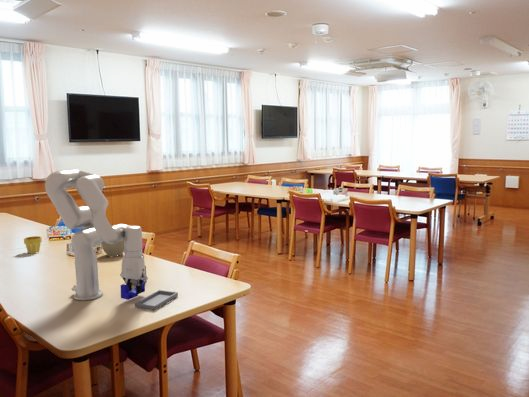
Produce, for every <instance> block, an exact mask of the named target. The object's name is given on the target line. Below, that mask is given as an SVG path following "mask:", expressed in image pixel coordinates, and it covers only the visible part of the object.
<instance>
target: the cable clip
mask: <svg viewBox="0 0 529 397" xmlns="http://www.w3.org/2000/svg"><path fill="white" fill-rule="evenodd" d="M142 280H143V278H142ZM139 281H140V280H139ZM136 286H137V284H136V285H135V286H134V288H132V290H131V291H130V290H129V288H128V285H126V284H125V283H122V284H121V285H120V299H122V300H126V301H129V300H131V299H134V298H136V297H138V296H139V294H142V293H145V292H146V282H144V283H143V284H142V292H141V293H139V294H136Z"/></svg>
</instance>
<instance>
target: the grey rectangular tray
mask: <svg viewBox="0 0 529 397" xmlns="http://www.w3.org/2000/svg"><path fill="white" fill-rule="evenodd" d="M178 297H179V292H178V291H170V290H169V291H168V290H162V289H159V290H158V289H157V290H156V291H154V292H153V293H150V294H149V295H146V296H145V297H144V298H142V299H140V300H138V301H136V302H134V308H135V309H142V310H148V311H149V310H150V311H154V312H155V311H157V310H158V309H160V308H162V307H163V306H165V305H166V304H169V303H170V302H172V301H173V300H174V299H176V298H178Z"/></svg>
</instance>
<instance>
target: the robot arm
mask: <svg viewBox="0 0 529 397" xmlns="http://www.w3.org/2000/svg"><path fill="white" fill-rule="evenodd" d="M44 187H45V188H44V189H45V194H47V196H48V198H49V200H50V201H51V203H52V204H53V206H54V207H55V210H56V212H58V213H57V214H58V216H60V218H61V220H62V222H63V223H64V225H65V227H66V228H67V229H69V230H76V229H79V228H81V229H80V230H78V231H76V232H74V234H72V237H71V240H70V243H71V247H72V252H73V256H74V265H75V279H76V284H75V285H73V286H72V288H71V291H73V292H75V293H74V294H73V299H75V300H76V301H91V300H96V299H98V298H100V297H102V296H103V294H104V293H103V292H104V291H103V290H101V289H100V285H99V283H100V282H99V271H98V270H99V269H98V268H99V266H98V257H97V253H96V251H95V249H94V248H95V247H98V246H101V244H102V243H103V242H105V243H107V244H114V243H117V242H119V241H122V240H125V250H123V254H124V255H122V262H121V270H120V271H121V272H120V274H119V276H120V277H121V278H122V279H123V281H124V284H125V285H128V288H129V290H130V291H131V290H133V285H132V282H131V279H134V280H136V281H137V286H136V285H135V286H136V294H138V295H139V293H140V294H142V293H143V292H142V284H143V283H144V282H145V281H146V280H149V277H148V276H147V273H146V274H145V266H146V264H145V257H144V258H143V256H142V254H143V229H142V227H141V226H139V225H130V224H125V223H117V224H115V225H111V223H110V222H109V220H108V218H107V214H106V211H107V208H108V206H109V200H108V199H107V198H106V195H104V193H103V190H104V187H105V182H104V180H103V178H102V177H101V176H100V175H97V174H94V173H91V172H87V171H83V170H80V169H74V168H73V169H63V170H62V169H61V170H56V171H54V172H51V173H50V174H49V175H48V176H47V177H46V179H45V182H44ZM71 188H75V190H76V191H77V193H78V195H79V196H80V197H81V198H82V200H83V202H84V203H85V205H80V206H78V205H77V203H76V201H75V199H74V197H73V196H72V195H71V194H70V193H69V192H68V191H67V190H68V189H71ZM66 189H67V190H66ZM142 277H143V280H142ZM139 280H140V281H139ZM145 283H146V282H145ZM141 292H142V293H141Z"/></svg>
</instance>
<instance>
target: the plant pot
mask: <svg viewBox="0 0 529 397" xmlns="http://www.w3.org/2000/svg"><path fill="white" fill-rule="evenodd" d="M42 238H43V237H42V236H37V235H36V236H27V237H24V238H23V243H24V245H25V248H26V252H27V253H28V254H30V253H33V254H37V253H36V252H38V253H39V252H40V249H41V245H42V244H41V243H42V240H43V239H42Z"/></svg>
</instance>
